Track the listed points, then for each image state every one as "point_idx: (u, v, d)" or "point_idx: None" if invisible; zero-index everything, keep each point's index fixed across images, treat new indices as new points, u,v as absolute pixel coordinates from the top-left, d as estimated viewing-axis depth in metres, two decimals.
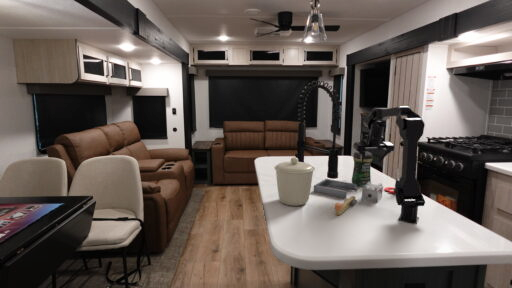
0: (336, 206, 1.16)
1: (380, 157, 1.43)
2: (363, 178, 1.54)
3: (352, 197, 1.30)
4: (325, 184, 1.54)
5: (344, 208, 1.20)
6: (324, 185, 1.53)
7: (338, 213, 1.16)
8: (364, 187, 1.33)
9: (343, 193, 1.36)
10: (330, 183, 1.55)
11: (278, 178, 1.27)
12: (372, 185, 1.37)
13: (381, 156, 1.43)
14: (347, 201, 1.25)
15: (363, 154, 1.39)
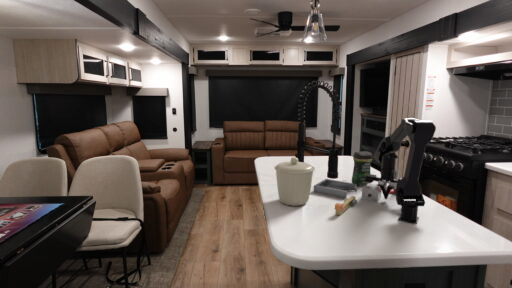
0: (336, 206, 1.16)
1: None
2: (363, 178, 1.54)
3: (352, 197, 1.30)
4: (325, 184, 1.54)
5: (344, 208, 1.20)
6: (324, 185, 1.53)
7: (338, 213, 1.16)
8: (364, 187, 1.33)
9: (343, 193, 1.36)
10: (330, 183, 1.55)
11: (278, 178, 1.27)
12: (371, 184, 1.38)
13: None
14: (347, 201, 1.25)
15: (382, 188, 1.30)
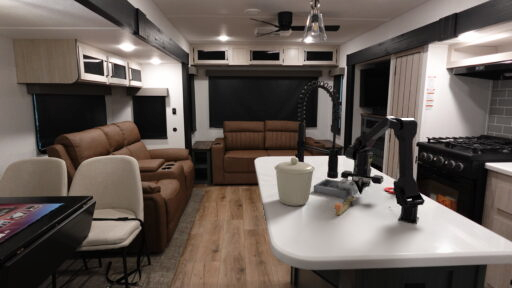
0: (336, 206, 1.16)
1: None
2: None
3: (352, 197, 1.30)
4: (325, 184, 1.54)
5: (344, 208, 1.20)
6: (324, 185, 1.53)
7: (338, 213, 1.16)
8: (340, 182, 1.40)
9: (343, 193, 1.36)
10: (330, 183, 1.55)
11: (278, 178, 1.27)
12: (348, 180, 1.44)
13: None
14: (347, 201, 1.25)
15: (357, 183, 1.37)
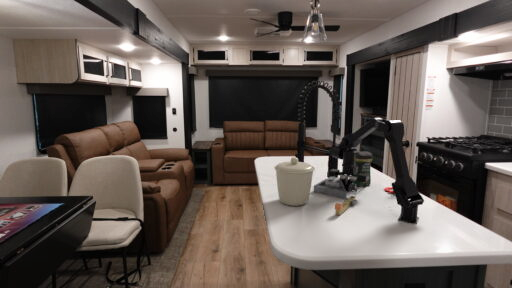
0: (336, 206, 1.16)
1: None
2: None
3: (352, 197, 1.30)
4: None
5: (344, 208, 1.20)
6: (324, 185, 1.53)
7: (338, 213, 1.16)
8: (327, 180, 1.44)
9: (343, 193, 1.36)
10: None
11: (278, 178, 1.27)
12: (335, 178, 1.48)
13: None
14: (347, 201, 1.25)
15: (343, 182, 1.41)
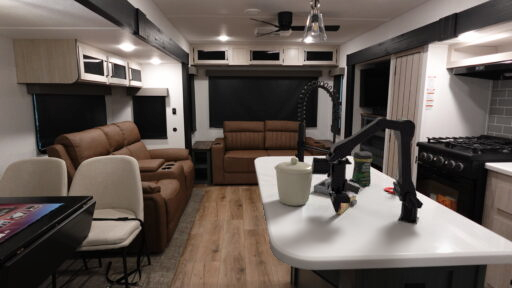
0: None
1: None
2: (363, 178, 1.54)
3: (352, 197, 1.31)
4: None
5: (345, 207, 1.21)
6: (324, 185, 1.53)
7: (339, 212, 1.17)
8: (326, 180, 1.44)
9: None
10: None
11: (278, 178, 1.27)
12: None
13: None
14: None
15: (330, 198, 1.16)
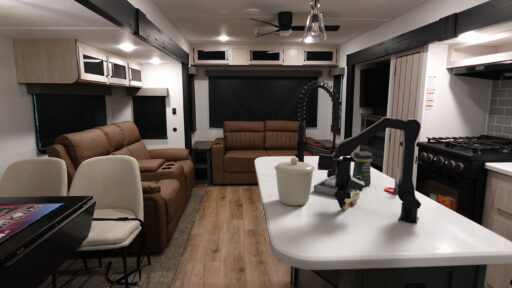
0: None
1: None
2: (363, 178, 1.54)
3: (356, 193, 1.35)
4: None
5: (349, 204, 1.25)
6: (324, 185, 1.53)
7: (343, 208, 1.21)
8: (326, 180, 1.45)
9: None
10: None
11: (278, 178, 1.27)
12: None
13: None
14: (351, 197, 1.30)
15: None
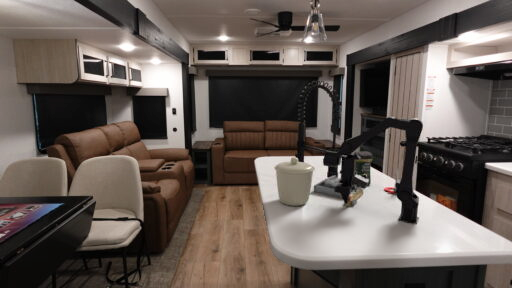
0: None
1: None
2: None
3: (360, 190, 1.40)
4: None
5: (353, 200, 1.30)
6: None
7: (348, 204, 1.26)
8: (326, 180, 1.45)
9: None
10: None
11: (278, 178, 1.27)
12: (336, 179, 1.48)
13: None
14: (355, 194, 1.35)
15: None
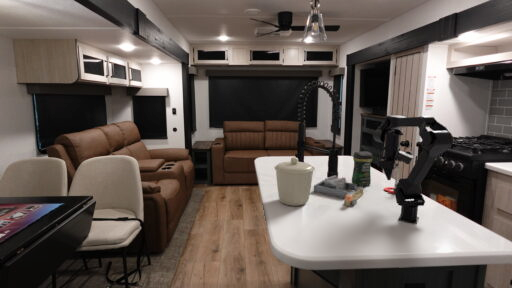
0: (346, 198, 1.26)
1: None
2: (363, 178, 1.54)
3: (360, 190, 1.40)
4: None
5: (353, 200, 1.30)
6: None
7: (348, 204, 1.26)
8: (325, 179, 1.45)
9: (343, 193, 1.36)
10: None
11: (278, 178, 1.27)
12: (336, 179, 1.48)
13: None
14: (355, 194, 1.35)
15: None
